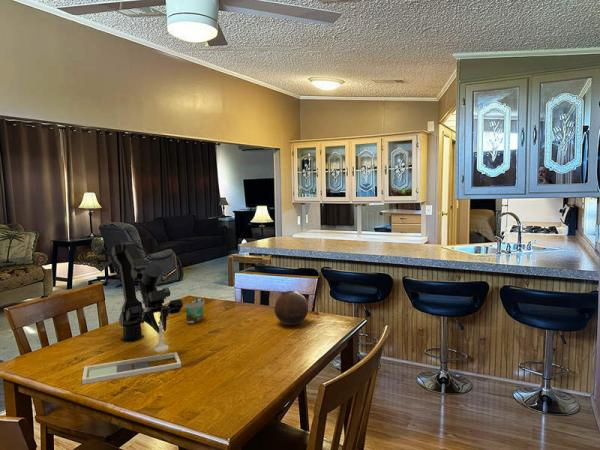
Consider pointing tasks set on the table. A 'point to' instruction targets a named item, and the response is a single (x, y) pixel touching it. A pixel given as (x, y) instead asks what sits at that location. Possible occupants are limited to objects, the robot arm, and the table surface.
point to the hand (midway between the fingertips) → (161, 331)
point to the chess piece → (160, 340)
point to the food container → (194, 311)
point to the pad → (102, 371)
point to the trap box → (126, 367)
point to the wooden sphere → (291, 308)
